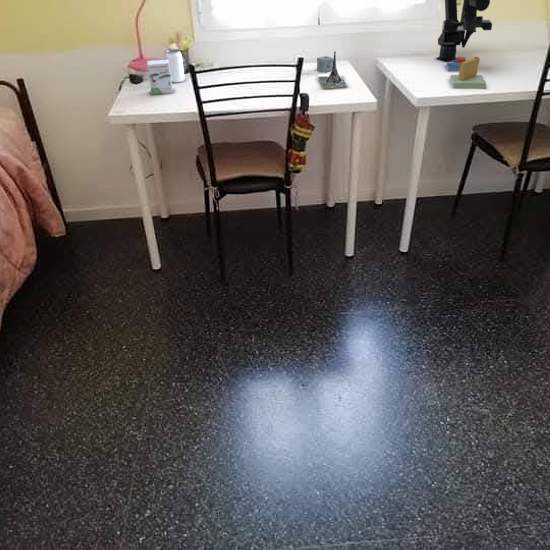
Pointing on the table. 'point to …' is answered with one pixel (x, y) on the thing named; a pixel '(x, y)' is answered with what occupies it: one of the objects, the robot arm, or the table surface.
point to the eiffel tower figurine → (333, 78)
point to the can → (175, 65)
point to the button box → (453, 66)
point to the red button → (460, 59)
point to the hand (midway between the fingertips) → (463, 47)
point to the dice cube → (325, 63)
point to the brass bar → (468, 68)
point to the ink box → (159, 76)
